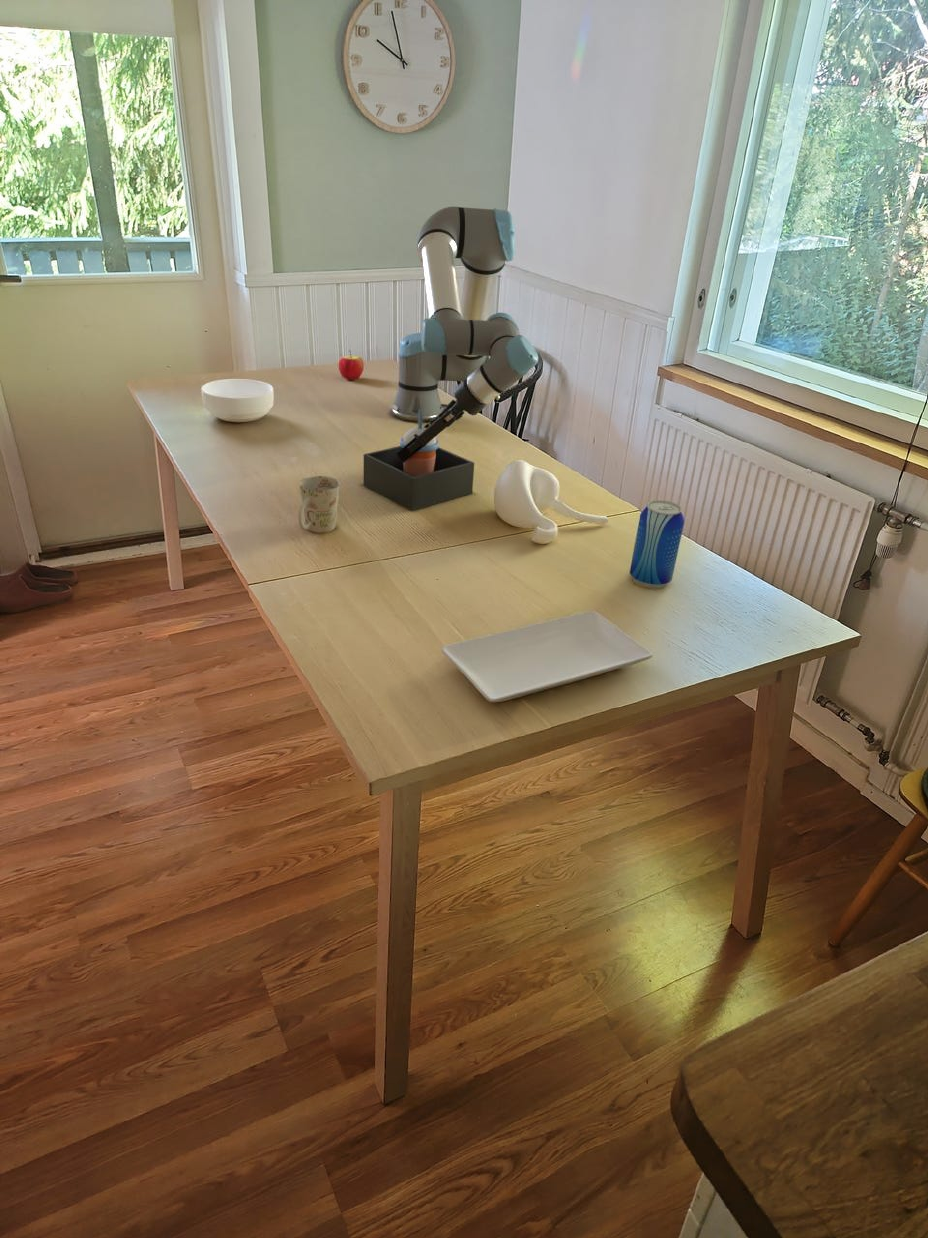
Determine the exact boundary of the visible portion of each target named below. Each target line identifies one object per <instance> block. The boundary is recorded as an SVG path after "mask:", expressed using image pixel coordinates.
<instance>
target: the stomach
mask: <svg viewBox="0 0 928 1238" xmlns="http://www.w3.org/2000/svg"><path fill="white" fill-rule="evenodd" d="M559 494H560V482H559V480H558V478H557V477H556V476H555V475H554V474H553V473H551V472H550V471H549V470H546V469H543V468H540V467H537V466H534V465H531V464H530V463H528V462H527V461H525V460H522V459H516V460H513V461H511V462H510V463H509V464H507V465H506V466H505V467H504V469H503V470H502V471H501V473H500V474H499V476H498V478H497V480H496V482H495V486H494V490H493V506H494V509H495V512H496V514H497V515H498V517H499V518H500V519H501V520H502V521H503V522H504V523H506V524H508V525H511V526H513V527H515V528H516V527H517V528H520V529H533V532H532V534H531V541H532V542H535V544H541V545H545V544H549V543H551V542H553V541H554V540H555V539H556V537H557V536H558V532H559V531H558V530H559V529H558V525H557V523H556V522H555V521H554V520H552V519H550V518H548V517H546V516H544V515H543V514H544V513H546V512H548V511H549V510H553V511H554V512H555V513H556V514H558V515H559V516H561V517H565V518H569V519H572V520H576V521H579V522H583V523H588V524H597V525H607V524H608V523H609V519H608V517H607V516H605V515H596V514H589V513H585V512H584V513H583V512H580V511H577V510H575V509H574V508H571V507H570V506H568V505H567V504H565V503H564V501H562V500H559Z"/></svg>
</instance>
